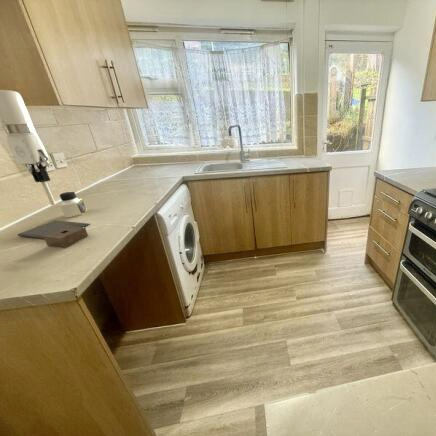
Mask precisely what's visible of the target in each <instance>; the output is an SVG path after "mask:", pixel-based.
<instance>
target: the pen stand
mask: <svg viewBox="0 0 436 436" xmlns="http://www.w3.org/2000/svg"><path fill="white" fill-rule="evenodd" d="M87 236H88V237H89V234H88V231H87V229H86V227H85V228H82V227H73V226H67V227H64V228H62V229H59V230H57V231H54V232H52V233H49V234H47V235H44V236H43V237H44V239H43V240H44V242H45V243H46V246H47V247H51V248H59V247H61V248H60V249H67V248H68V246H69V247H71V246H73V245H75V244H76V243H75V242H77V241H79V240H81V239H83V238H85V237H86V238H88V237H87ZM86 238H85V239H86ZM83 240H84V239H83ZM81 241H82V240H81ZM79 242H80V241H79ZM74 243H75V244H74ZM77 243H78V242H77ZM72 244H73V245H72ZM70 245H71V246H70ZM66 247H67V248H66Z"/></svg>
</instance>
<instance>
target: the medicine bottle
mask: <svg viewBox="0 0 436 436" xmlns="http://www.w3.org/2000/svg"><path fill="white" fill-rule="evenodd" d="M59 198H60V200H61V202H62V203H61V204H60V205H59V207H60V209H61V211H62V213H63V215H64V217H65V218H71V217H72V218H73V217H76V216H77V217H78V216H82V215H84V214H85V213H86V212H87V210H88V209H87V207H86V205H85V203H84V200H83V198H78V196H77V194H76V192H75V191H64V192H62V193H60V194H59Z"/></svg>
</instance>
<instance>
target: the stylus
mask: <svg viewBox="0 0 436 436" xmlns="http://www.w3.org/2000/svg"><path fill="white" fill-rule="evenodd" d="M35 170H36V169H35ZM36 172H37V171H36ZM40 183H41V185H42V187H43V189H44V192H45V194H46V196H47V199H48V201H49V203H50V206H55V205H57V202H56V201H55V198H54V197H53V196H54V195H53V193H52V192H51V189H50V187H49V184H48V181H46V182H40Z"/></svg>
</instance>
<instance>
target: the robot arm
mask: <svg viewBox="0 0 436 436" xmlns="http://www.w3.org/2000/svg"><path fill="white" fill-rule="evenodd" d="M21 95H22V94H20V93H19V91H15V90H11V89H9V90H8V89H0V124H1V126H2V128H3V130H4V133H5V135H6V139H7V143H8V146H9V149H10V151H11V154H12V156H13V158H14V160H15V162H16V163H18V164H21V165H22V166H24V167H26V168H27V169H28V171H29V172H30V173H31V175H32V177H33V179H34V182H35V183H41V182H50V181H51V178H50V176H49V174H48V168H47V167H48V166H49V165H50V163H49V160H50V159H49V155H48V152H47V150H46V148H45V145H43V142H42V140H41V138H40V137H39V135H38V133H37V129H36V128H35V125H34V123H33V121H32V118H31V116H30V113H29V111H28V108H27V107H26V105H25V102H24V99H23V97H22V96H21ZM35 169H36V170H35ZM36 171H37V172H36Z"/></svg>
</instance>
